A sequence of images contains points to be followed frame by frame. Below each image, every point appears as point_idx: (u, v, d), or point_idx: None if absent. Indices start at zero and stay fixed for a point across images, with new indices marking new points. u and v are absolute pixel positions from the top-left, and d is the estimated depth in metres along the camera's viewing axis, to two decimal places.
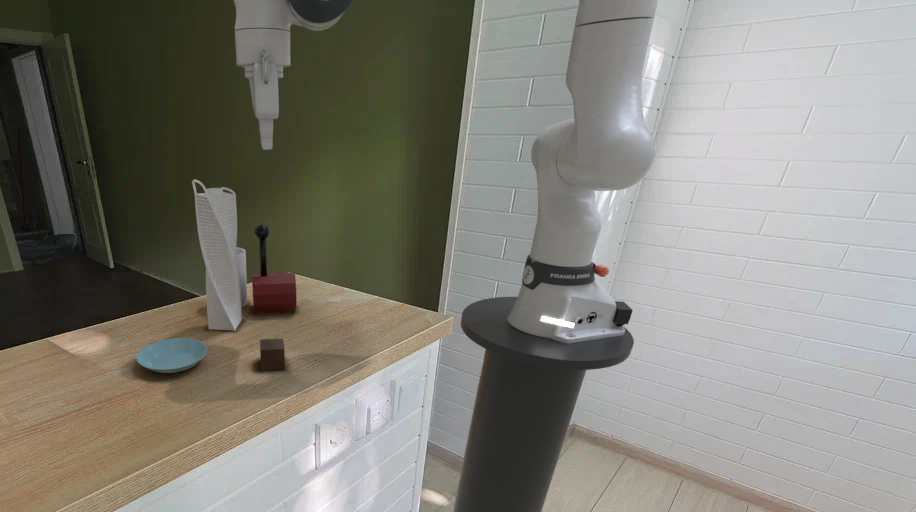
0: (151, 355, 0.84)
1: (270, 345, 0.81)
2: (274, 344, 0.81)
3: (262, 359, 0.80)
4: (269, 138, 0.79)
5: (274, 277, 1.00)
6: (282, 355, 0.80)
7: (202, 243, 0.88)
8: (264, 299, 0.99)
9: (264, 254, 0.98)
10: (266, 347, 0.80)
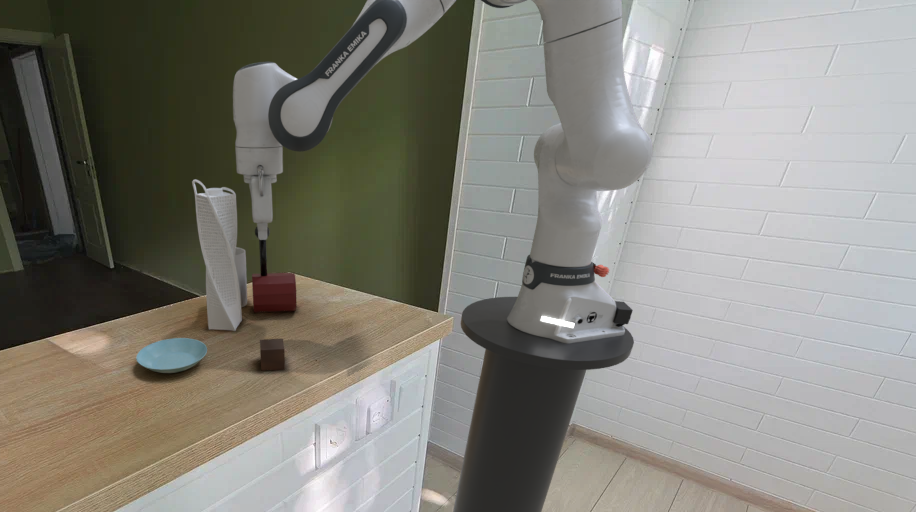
0: (151, 355, 0.84)
1: (270, 345, 0.81)
2: (274, 344, 0.81)
3: (262, 359, 0.80)
4: (264, 231, 0.94)
5: (274, 277, 1.00)
6: (282, 355, 0.80)
7: (202, 243, 0.88)
8: (264, 299, 0.99)
9: (264, 254, 0.98)
10: (266, 347, 0.80)
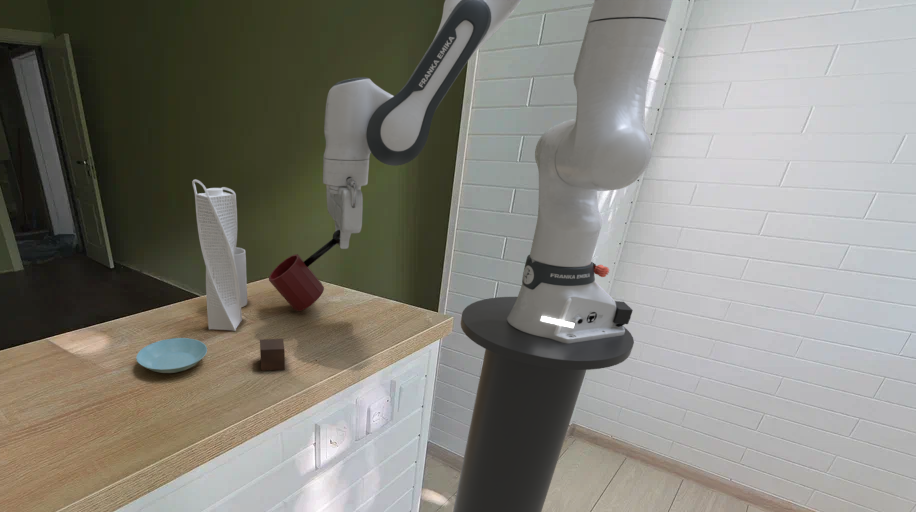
0: (151, 355, 0.84)
1: (270, 345, 0.81)
2: (274, 344, 0.81)
3: (262, 359, 0.80)
4: (346, 240, 0.96)
5: (311, 274, 1.01)
6: (282, 355, 0.80)
7: (202, 243, 0.88)
8: (292, 281, 0.98)
9: (324, 252, 0.99)
10: (266, 347, 0.80)
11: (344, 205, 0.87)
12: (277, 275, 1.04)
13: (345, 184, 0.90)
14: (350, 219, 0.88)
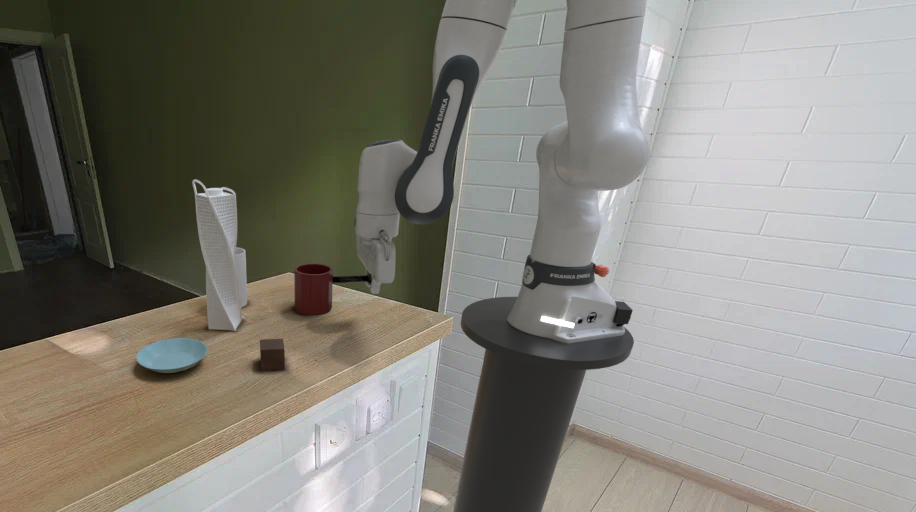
0: (151, 355, 0.84)
1: (270, 345, 0.81)
2: (274, 344, 0.81)
3: (262, 359, 0.80)
4: (377, 286, 1.02)
5: (331, 291, 1.03)
6: (282, 355, 0.80)
7: (202, 243, 0.88)
8: (315, 285, 0.99)
9: (353, 281, 1.03)
10: (266, 347, 0.80)
11: (378, 258, 0.92)
12: (300, 271, 1.04)
13: (378, 237, 0.95)
14: (384, 271, 0.93)
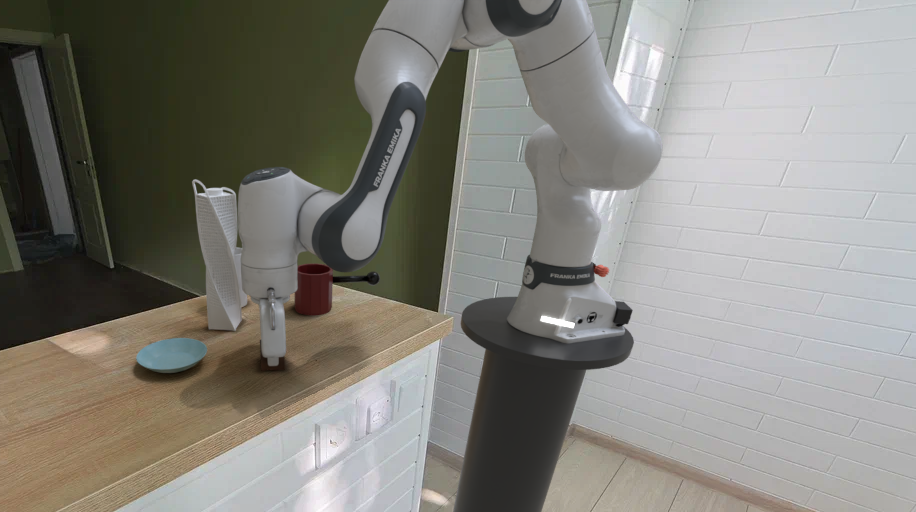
0: (151, 355, 0.84)
1: None
2: None
3: (262, 359, 0.80)
4: (275, 356, 0.78)
5: (331, 291, 1.03)
6: None
7: (202, 243, 0.88)
8: (315, 285, 0.99)
9: (353, 281, 1.03)
10: None
11: (261, 327, 0.69)
12: (300, 271, 1.04)
13: (266, 296, 0.72)
14: (270, 343, 0.70)
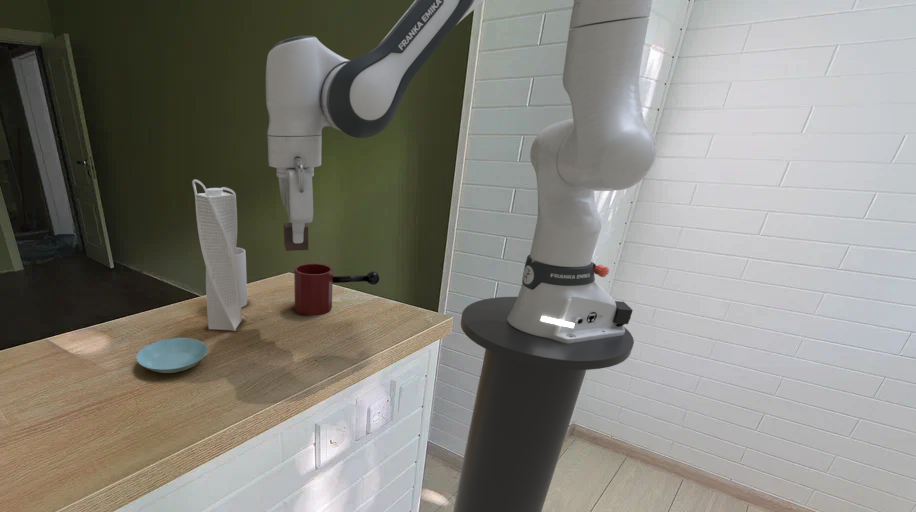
0: (151, 355, 0.84)
1: None
2: None
3: (287, 238, 0.83)
4: (300, 233, 0.82)
5: (331, 291, 1.03)
6: (306, 234, 0.83)
7: (202, 243, 0.88)
8: (315, 285, 0.99)
9: (353, 281, 1.03)
10: (290, 226, 0.83)
11: (290, 190, 0.73)
12: (300, 271, 1.04)
13: (293, 165, 0.76)
14: (298, 206, 0.73)
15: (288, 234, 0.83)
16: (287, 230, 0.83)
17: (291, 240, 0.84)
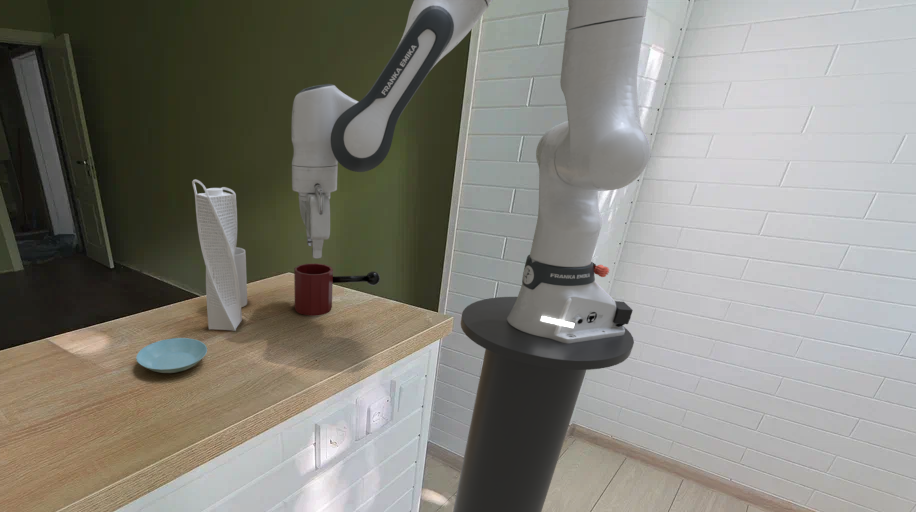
0: (151, 355, 0.84)
1: None
2: None
3: None
4: (319, 250, 0.94)
5: (331, 291, 1.03)
6: None
7: (202, 243, 0.88)
8: (315, 285, 0.99)
9: (353, 281, 1.03)
10: None
11: (311, 212, 0.87)
12: (300, 271, 1.04)
13: (313, 191, 0.90)
14: (318, 226, 0.88)
15: None
16: None
17: None
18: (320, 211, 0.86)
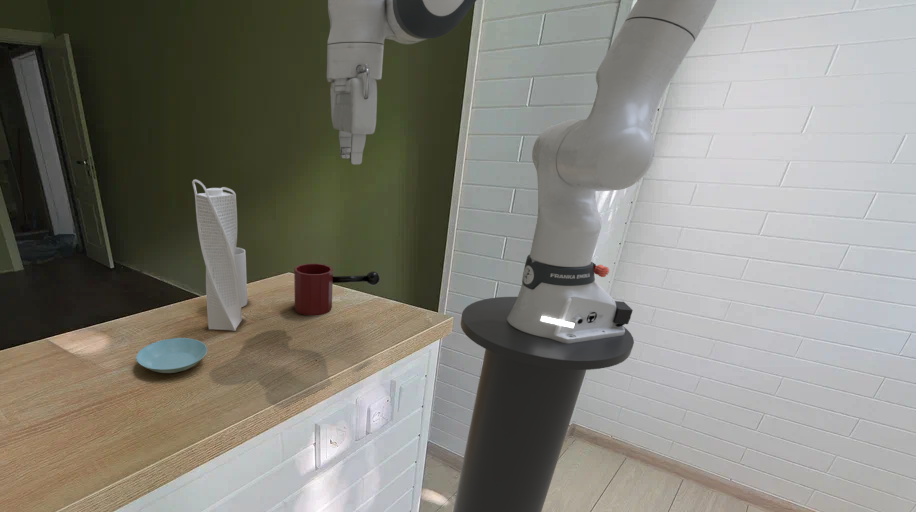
0: (151, 355, 0.84)
1: None
2: None
3: None
4: (359, 153, 0.77)
5: (331, 291, 1.03)
6: None
7: (202, 243, 0.88)
8: (315, 285, 0.99)
9: (353, 281, 1.03)
10: None
11: (354, 96, 0.70)
12: (300, 271, 1.04)
13: (354, 75, 0.73)
14: (362, 114, 0.71)
15: None
16: None
17: None
18: (365, 94, 0.69)
